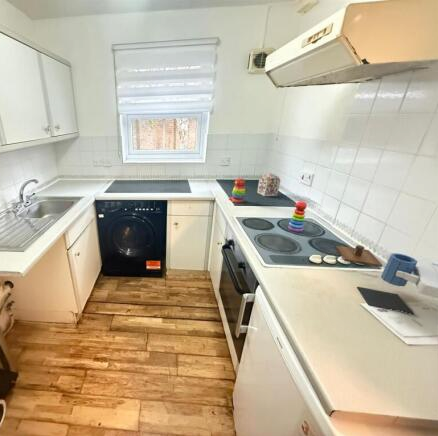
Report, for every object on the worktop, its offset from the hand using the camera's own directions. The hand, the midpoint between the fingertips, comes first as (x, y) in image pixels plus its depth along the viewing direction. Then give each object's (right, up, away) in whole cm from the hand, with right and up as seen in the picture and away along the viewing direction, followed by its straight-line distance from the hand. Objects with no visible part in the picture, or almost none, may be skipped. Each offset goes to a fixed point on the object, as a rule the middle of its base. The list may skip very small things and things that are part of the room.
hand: (395, 267), depth 79 cm
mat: (+1, -13, +5) cm, 14 cm away
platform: (+12, -3, +29) cm, 31 cm away
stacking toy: (0, +8, +55) cm, 55 cm away
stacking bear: (-13, +30, +106) cm, 111 cm away
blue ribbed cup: (+1, -5, +1) cm, 5 cm away
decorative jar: (+18, +37, +121) cm, 128 cm away
